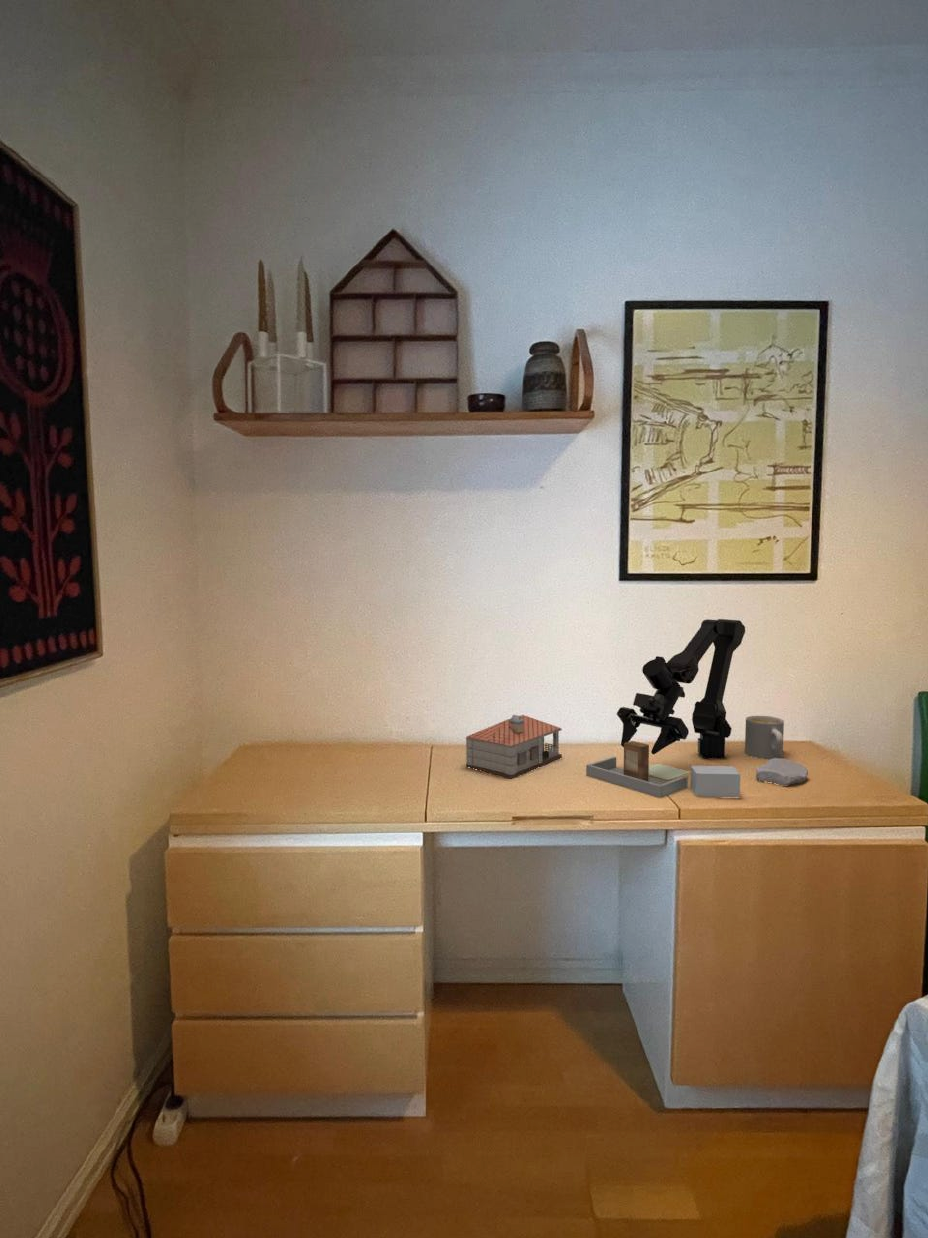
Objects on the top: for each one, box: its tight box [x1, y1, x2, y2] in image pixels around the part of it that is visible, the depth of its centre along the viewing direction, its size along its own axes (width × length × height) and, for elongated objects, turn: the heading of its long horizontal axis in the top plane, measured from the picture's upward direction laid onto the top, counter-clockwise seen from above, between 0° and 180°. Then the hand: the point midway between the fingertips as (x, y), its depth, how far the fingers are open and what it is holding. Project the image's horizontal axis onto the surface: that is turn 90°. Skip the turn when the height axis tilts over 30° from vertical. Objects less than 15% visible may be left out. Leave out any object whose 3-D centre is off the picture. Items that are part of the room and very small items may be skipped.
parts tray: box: [585, 756, 689, 799], centre depth 181 cm, size 11×23×3 cm, turn 40°
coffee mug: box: [744, 715, 785, 760], centre depth 202 cm, size 13×10×10 cm
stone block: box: [755, 758, 809, 787], centre depth 182 cm, size 12×5×10 cm
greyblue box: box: [690, 765, 741, 798], centre depth 172 cm, size 10×6×6 cm, turn 85°
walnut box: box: [623, 740, 650, 782], centre depth 181 cm, size 4×5×10 cm
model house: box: [465, 714, 563, 780], centre depth 198 cm, size 24×16×15 cm, turn 140°
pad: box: [649, 763, 691, 781], centre depth 188 cm, size 10×10×1 cm
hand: (637, 749), depth 181 cm, fingers open, 9 cm apart
